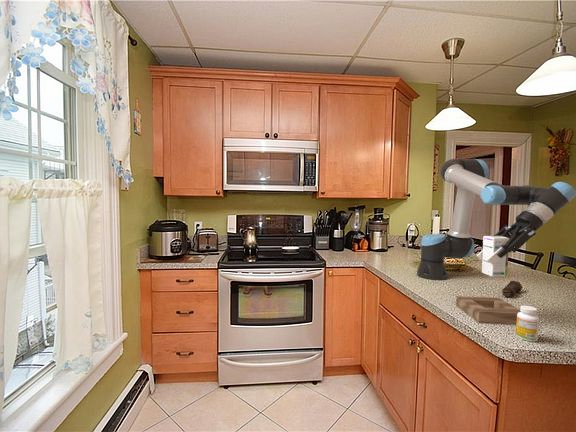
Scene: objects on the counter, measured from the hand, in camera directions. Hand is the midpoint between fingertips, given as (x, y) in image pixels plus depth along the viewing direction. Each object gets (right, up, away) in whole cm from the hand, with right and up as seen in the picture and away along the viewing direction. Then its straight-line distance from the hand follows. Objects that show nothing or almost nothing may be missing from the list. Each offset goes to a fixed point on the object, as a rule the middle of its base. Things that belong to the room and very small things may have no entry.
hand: (484, 260), depth 109 cm
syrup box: (+4, -6, 0) cm, 7 cm away
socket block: (+2, -21, +1) cm, 21 cm away
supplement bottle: (+1, -22, -17) cm, 28 cm away
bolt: (+28, -20, +24) cm, 42 cm away
